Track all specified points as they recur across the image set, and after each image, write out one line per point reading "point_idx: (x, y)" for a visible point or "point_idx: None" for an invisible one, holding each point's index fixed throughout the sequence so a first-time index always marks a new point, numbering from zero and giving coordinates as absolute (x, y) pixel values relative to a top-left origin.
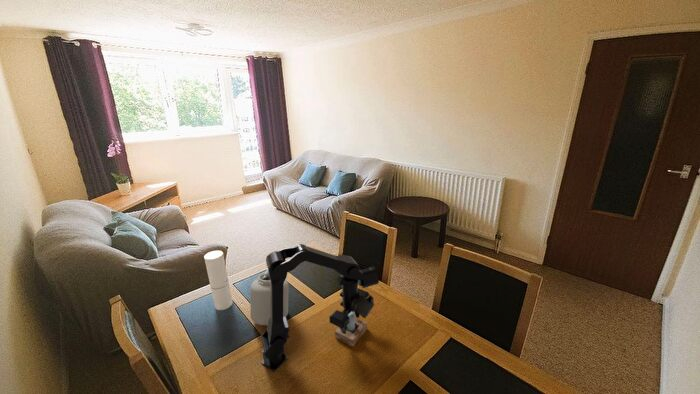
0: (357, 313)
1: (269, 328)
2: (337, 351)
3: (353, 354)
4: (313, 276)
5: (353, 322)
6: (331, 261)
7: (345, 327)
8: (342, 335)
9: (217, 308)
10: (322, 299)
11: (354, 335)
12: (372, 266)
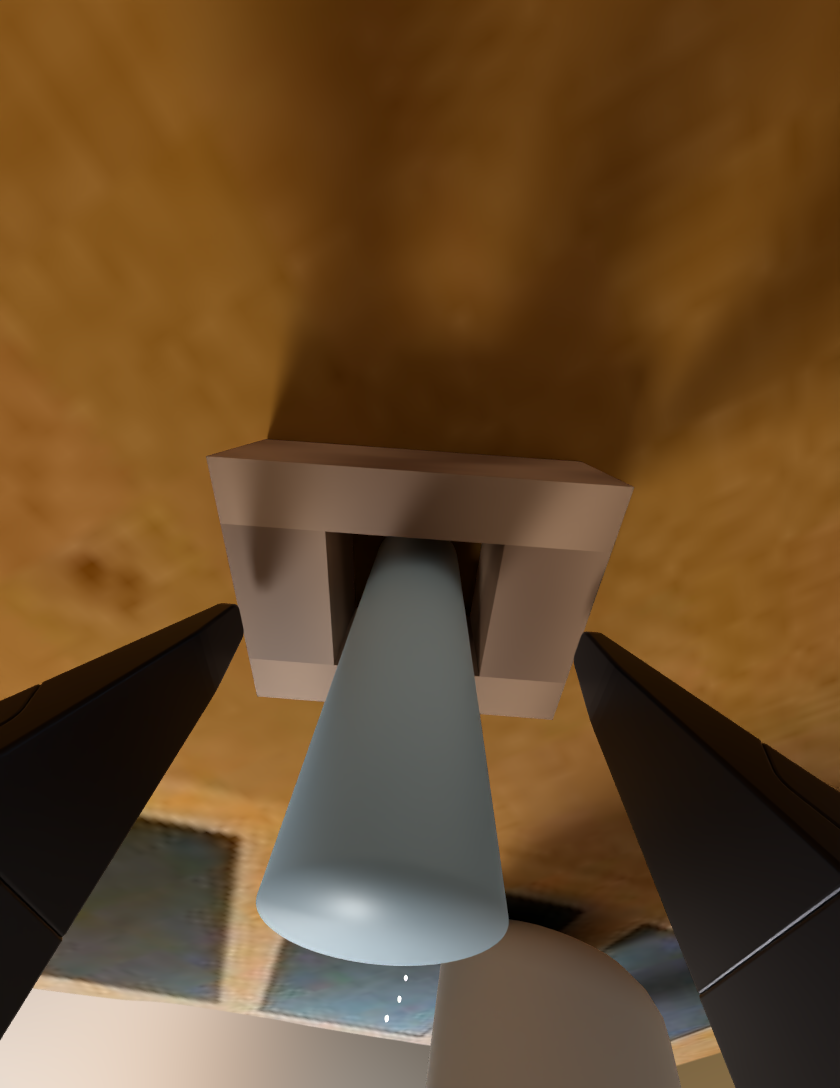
0: (184, 678)
1: None
2: (678, 573)
3: (686, 406)
4: (147, 919)
5: (429, 656)
6: None
7: (788, 780)
8: (576, 636)
9: None
10: (253, 840)
11: (533, 511)
12: None
